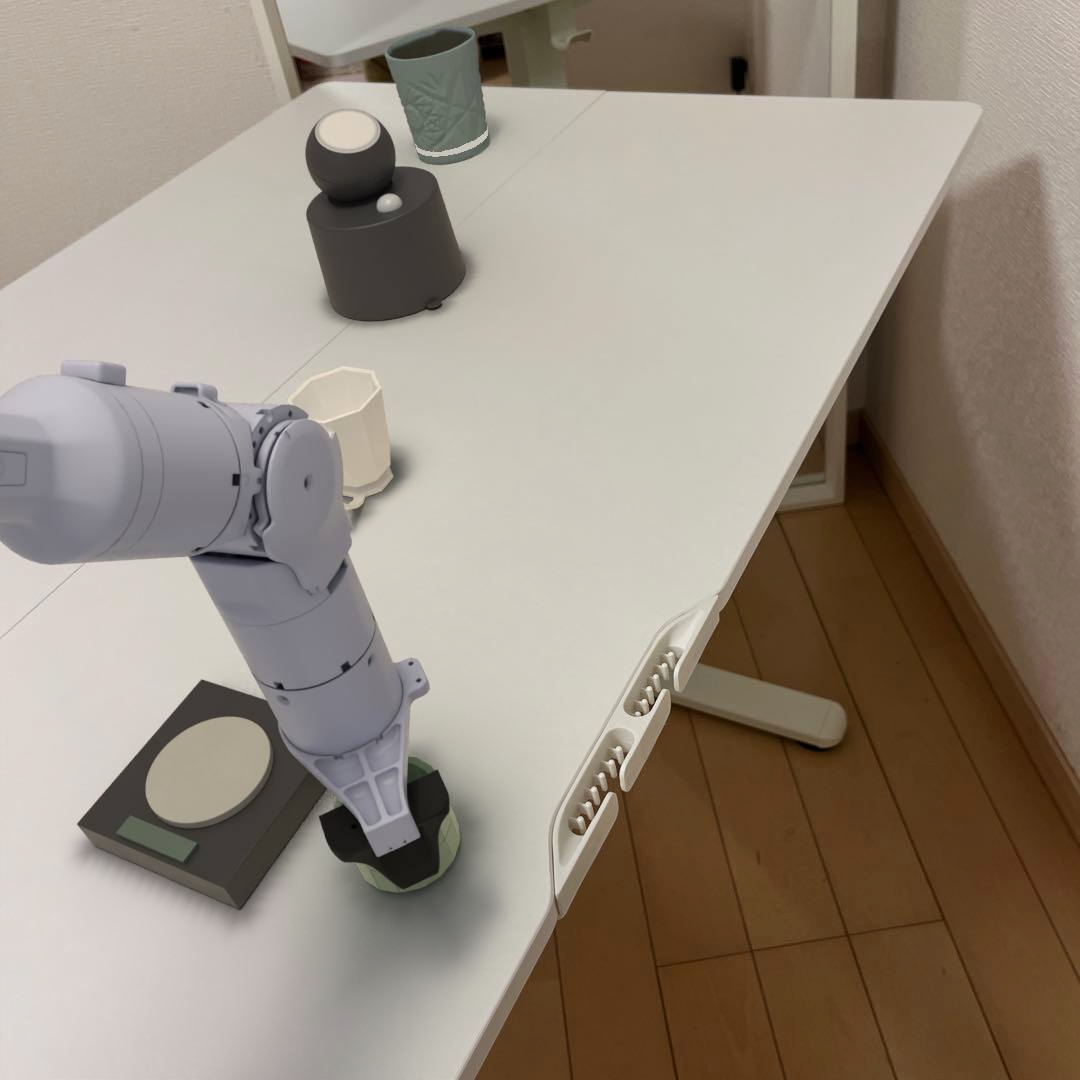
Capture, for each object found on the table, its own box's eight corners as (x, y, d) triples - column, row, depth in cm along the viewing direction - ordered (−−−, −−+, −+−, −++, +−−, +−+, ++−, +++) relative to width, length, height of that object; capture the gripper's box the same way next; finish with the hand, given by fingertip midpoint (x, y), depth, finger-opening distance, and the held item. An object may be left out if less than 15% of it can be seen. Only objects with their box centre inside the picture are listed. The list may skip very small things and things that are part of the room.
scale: (239, 910, 58) (220, 881, 56) (93, 845, 63) (70, 817, 61) (355, 748, 64) (340, 718, 63) (214, 701, 69) (197, 672, 68)
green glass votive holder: (414, 916, 56) (390, 869, 53) (338, 866, 59) (311, 818, 56) (483, 833, 59) (463, 783, 56) (407, 789, 62) (385, 739, 59)
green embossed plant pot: (407, 172, 126) (377, 65, 118) (417, 136, 133) (391, 34, 125) (493, 158, 124) (470, 49, 116) (499, 123, 132) (478, 18, 124)
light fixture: (321, 170, 88) (249, 133, 98) (376, 340, 99) (306, 291, 108) (457, 109, 93) (376, 78, 103) (497, 277, 103) (419, 235, 113)
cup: (417, 446, 86) (388, 359, 80) (396, 533, 78) (364, 443, 73) (331, 456, 87) (297, 370, 82) (302, 542, 80) (264, 454, 74)
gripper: (451, 715, 43) (519, 895, 52) (354, 512, 54) (424, 690, 63) (280, 792, 42) (380, 963, 51) (215, 569, 52) (307, 743, 61)
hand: (395, 817), depth 57 cm, fingers open, 7 cm apart
